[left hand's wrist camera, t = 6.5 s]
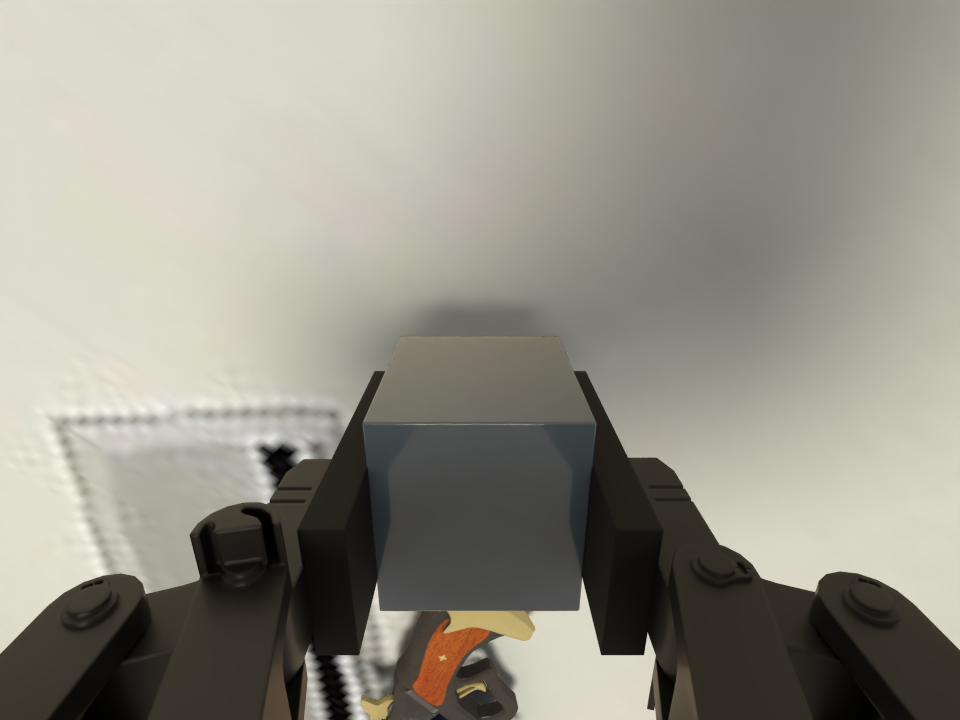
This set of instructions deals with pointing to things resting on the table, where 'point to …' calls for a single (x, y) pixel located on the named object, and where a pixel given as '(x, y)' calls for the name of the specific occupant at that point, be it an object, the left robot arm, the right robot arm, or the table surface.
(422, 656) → the toy gun
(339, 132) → the table surface
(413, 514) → the brick
